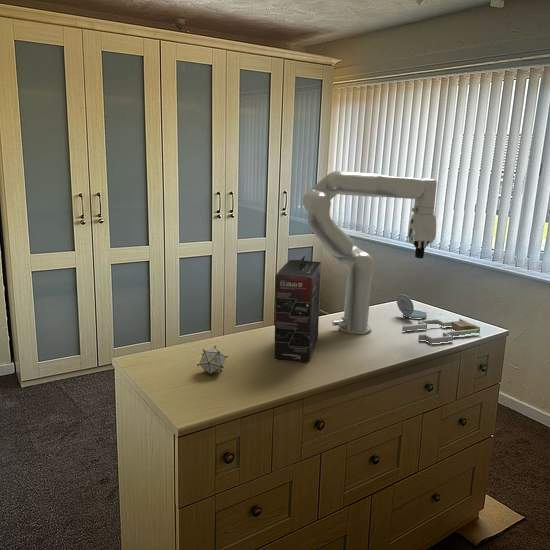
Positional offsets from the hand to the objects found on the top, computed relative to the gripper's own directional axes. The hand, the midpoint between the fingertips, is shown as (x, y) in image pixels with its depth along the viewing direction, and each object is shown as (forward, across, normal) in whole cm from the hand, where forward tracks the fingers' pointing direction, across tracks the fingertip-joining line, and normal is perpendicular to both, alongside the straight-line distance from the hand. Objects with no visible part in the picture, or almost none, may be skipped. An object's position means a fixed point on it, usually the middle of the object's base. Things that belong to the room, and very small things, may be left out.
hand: (419, 257), depth 202 cm
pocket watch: (+29, +10, +13) cm, 34 cm away
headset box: (+29, -55, -10) cm, 63 cm away
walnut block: (+29, +16, -10) cm, 35 cm away
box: (+29, +7, -9) cm, 31 cm away
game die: (+29, -88, -22) cm, 95 cm away
